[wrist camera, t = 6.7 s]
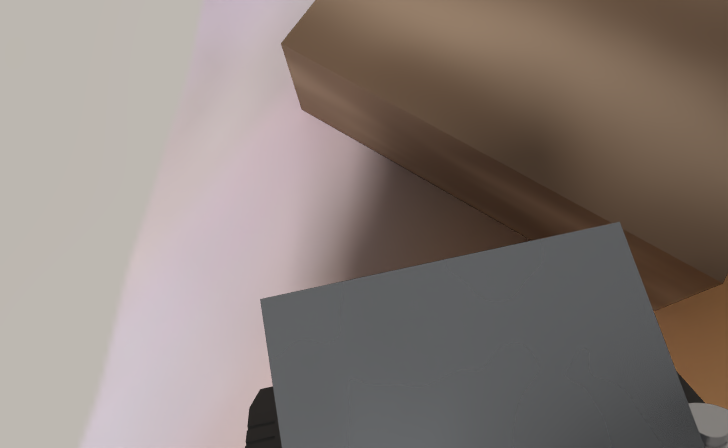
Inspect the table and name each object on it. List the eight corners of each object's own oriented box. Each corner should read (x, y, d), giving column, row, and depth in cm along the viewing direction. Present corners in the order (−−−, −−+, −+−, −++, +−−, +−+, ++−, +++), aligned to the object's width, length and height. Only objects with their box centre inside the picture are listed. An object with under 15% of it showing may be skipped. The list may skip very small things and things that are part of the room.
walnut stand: (487, -135, 25) (503, -234, 21) (812, 1, 22) (900, -87, 18) (301, 109, 21) (280, 43, 17) (655, 310, 18) (723, 283, 14)
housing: (332, 359, 18) (260, 299, 9) (504, 322, 18) (619, 222, 9) (369, 555, 16) (327, 751, 7) (559, 514, 16) (781, 650, 7)
